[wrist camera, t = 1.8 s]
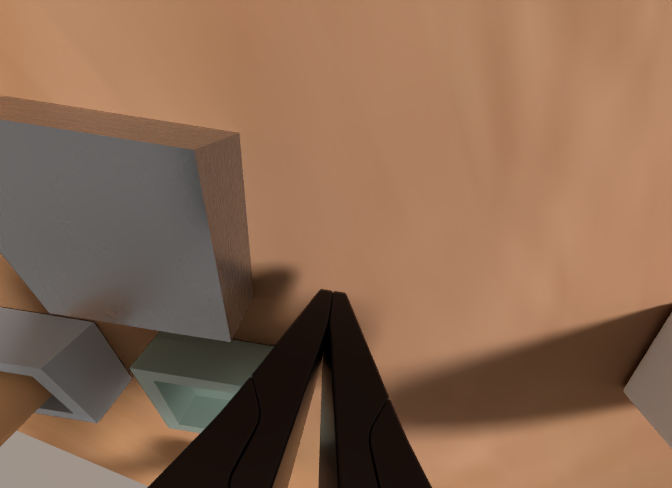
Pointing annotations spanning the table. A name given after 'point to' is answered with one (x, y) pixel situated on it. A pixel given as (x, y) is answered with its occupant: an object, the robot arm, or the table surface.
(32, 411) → the dowel
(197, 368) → the tray
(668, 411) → the milk carton
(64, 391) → the socket block
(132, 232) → the grey slab
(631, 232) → the table surface
